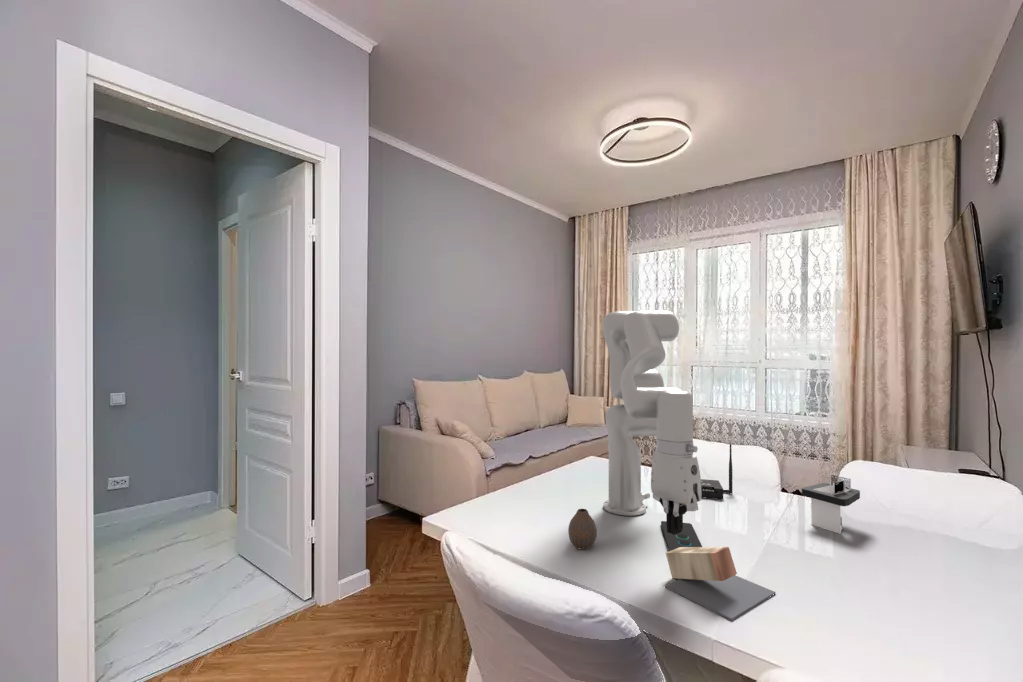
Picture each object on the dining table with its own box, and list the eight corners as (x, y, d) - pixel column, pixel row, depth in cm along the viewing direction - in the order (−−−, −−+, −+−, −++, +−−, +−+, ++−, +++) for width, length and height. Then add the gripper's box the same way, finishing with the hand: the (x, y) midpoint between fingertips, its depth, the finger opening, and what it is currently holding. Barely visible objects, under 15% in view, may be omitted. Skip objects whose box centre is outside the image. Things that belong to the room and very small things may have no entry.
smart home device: (669, 551, 108) (660, 520, 127) (669, 558, 108) (659, 526, 127) (707, 554, 106) (691, 522, 125) (707, 562, 106) (691, 529, 125)
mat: (710, 566, 103) (710, 564, 103) (775, 594, 91) (775, 592, 91) (665, 587, 93) (665, 585, 93) (731, 620, 82) (731, 618, 82)
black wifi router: (671, 497, 152) (671, 445, 152) (669, 486, 165) (669, 438, 165) (737, 504, 146) (737, 449, 146) (730, 491, 159) (730, 441, 160)
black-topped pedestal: (862, 557, 109) (861, 500, 109) (757, 520, 132) (757, 473, 132) (917, 535, 122) (917, 484, 122) (813, 505, 145) (813, 462, 145)
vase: (598, 542, 115) (598, 507, 115) (594, 554, 109) (594, 516, 109) (571, 538, 117) (571, 504, 118) (565, 549, 111) (565, 513, 111)
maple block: (679, 547, 102) (728, 546, 92) (686, 571, 100) (737, 573, 91) (665, 552, 99) (714, 553, 90) (672, 578, 97) (722, 581, 88)
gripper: (716, 451, 96) (716, 540, 96) (656, 440, 108) (657, 518, 108) (694, 456, 92) (695, 548, 91) (635, 443, 104) (635, 525, 104)
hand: (674, 532), depth 100 cm, fingers closed
